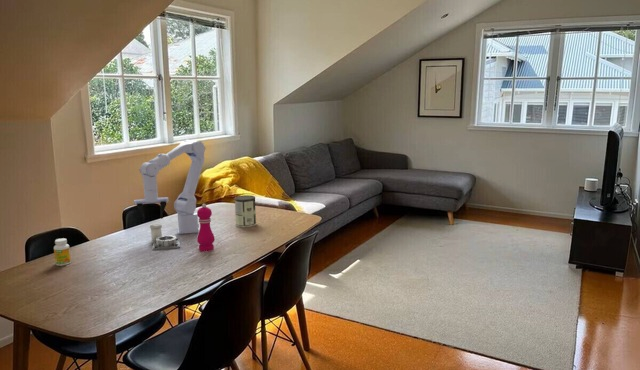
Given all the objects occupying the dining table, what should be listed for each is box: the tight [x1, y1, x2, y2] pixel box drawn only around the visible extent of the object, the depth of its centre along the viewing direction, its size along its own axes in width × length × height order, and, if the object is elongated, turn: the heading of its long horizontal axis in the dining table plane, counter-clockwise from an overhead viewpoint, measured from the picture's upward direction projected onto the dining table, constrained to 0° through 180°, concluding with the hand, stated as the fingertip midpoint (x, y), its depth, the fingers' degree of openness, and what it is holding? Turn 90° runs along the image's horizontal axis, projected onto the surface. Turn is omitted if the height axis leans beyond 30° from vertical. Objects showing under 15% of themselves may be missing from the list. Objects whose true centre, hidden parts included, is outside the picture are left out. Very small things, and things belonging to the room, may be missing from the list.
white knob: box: [149, 223, 163, 243], centre depth 218 cm, size 5×5×7 cm
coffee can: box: [234, 194, 257, 228], centre depth 243 cm, size 10×10×14 cm
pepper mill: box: [196, 203, 216, 252], centre depth 205 cm, size 7×7×20 cm
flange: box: [152, 234, 181, 251], centre depth 212 cm, size 11×11×3 cm
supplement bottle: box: [53, 237, 72, 266], centre depth 189 cm, size 5×5×10 cm
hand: (152, 218), depth 218 cm, fingers open, 7 cm apart
